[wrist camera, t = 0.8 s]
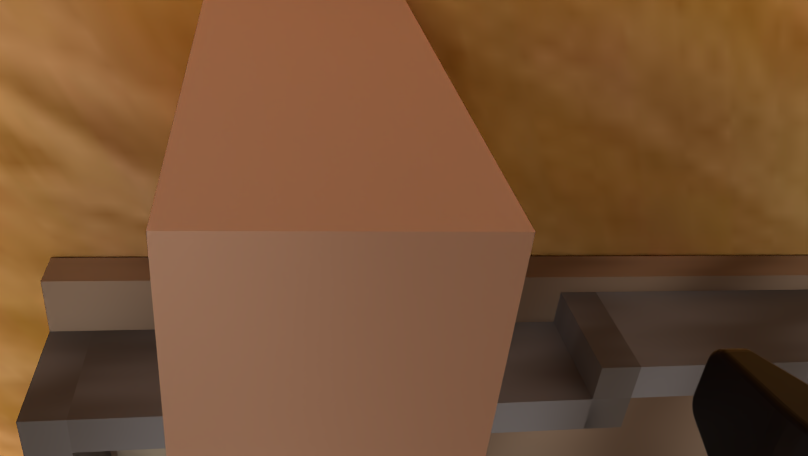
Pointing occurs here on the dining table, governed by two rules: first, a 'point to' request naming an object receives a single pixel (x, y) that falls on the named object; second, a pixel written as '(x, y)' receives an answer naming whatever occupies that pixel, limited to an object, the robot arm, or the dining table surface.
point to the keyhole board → (525, 368)
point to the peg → (329, 242)
